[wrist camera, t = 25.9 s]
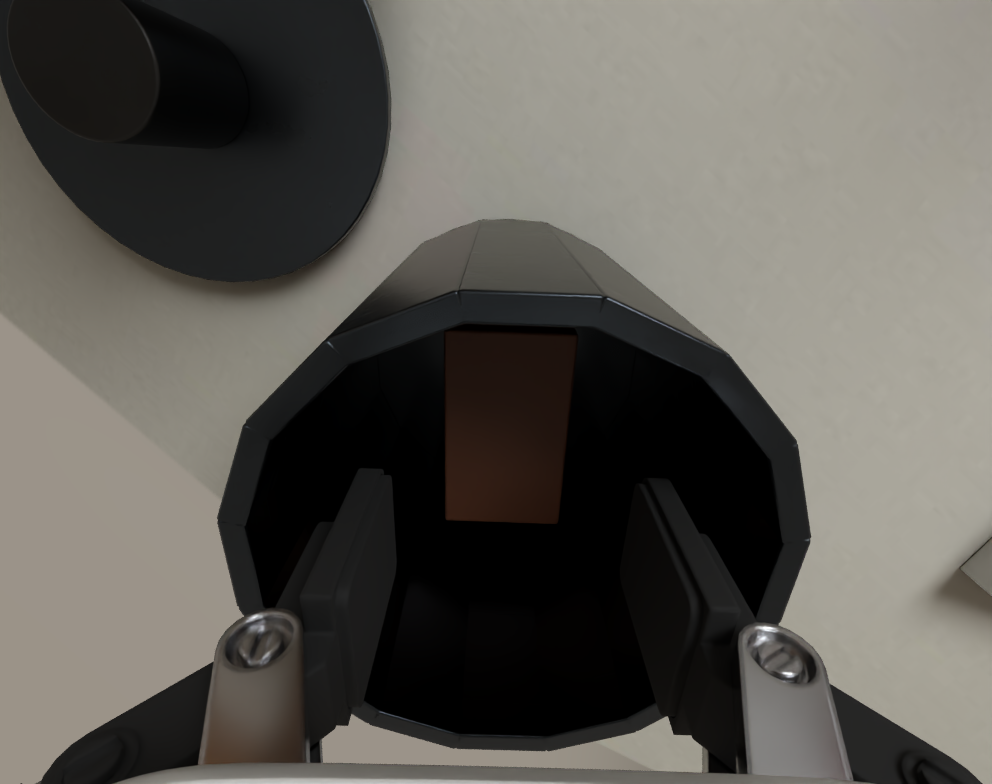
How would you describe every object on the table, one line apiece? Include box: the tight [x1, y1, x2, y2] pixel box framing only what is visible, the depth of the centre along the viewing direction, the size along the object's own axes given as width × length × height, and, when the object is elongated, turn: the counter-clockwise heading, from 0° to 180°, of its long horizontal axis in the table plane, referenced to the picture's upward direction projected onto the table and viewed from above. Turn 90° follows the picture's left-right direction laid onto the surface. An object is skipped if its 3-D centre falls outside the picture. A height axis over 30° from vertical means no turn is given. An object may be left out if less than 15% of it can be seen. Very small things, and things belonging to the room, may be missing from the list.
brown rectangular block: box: [444, 324, 578, 524], centre depth 19 cm, size 4×7×6 cm, turn 178°
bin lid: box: [0, 0, 391, 282], centre depth 15 cm, size 13×13×6 cm
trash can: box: [217, 219, 811, 751], centre depth 16 cm, size 12×12×13 cm
